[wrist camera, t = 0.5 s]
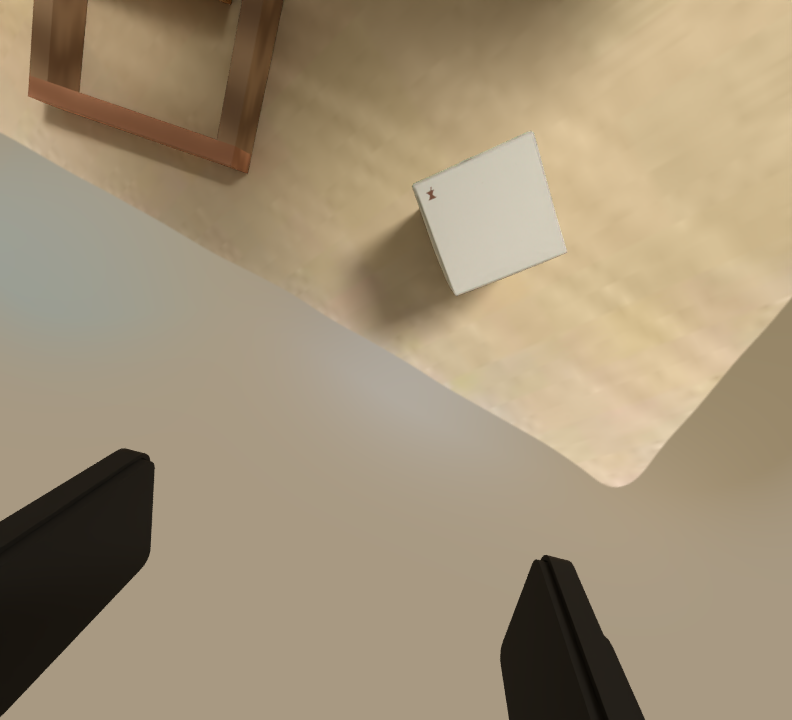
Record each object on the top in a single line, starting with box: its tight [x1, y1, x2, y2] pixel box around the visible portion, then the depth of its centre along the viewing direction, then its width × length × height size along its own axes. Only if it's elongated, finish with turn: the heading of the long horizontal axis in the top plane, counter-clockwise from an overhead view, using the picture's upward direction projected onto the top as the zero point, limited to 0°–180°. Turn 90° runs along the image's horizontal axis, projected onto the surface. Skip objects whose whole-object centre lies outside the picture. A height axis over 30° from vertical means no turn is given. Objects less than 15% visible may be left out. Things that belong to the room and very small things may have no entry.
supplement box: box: [412, 131, 567, 296], centre depth 29 cm, size 7×7×13 cm
